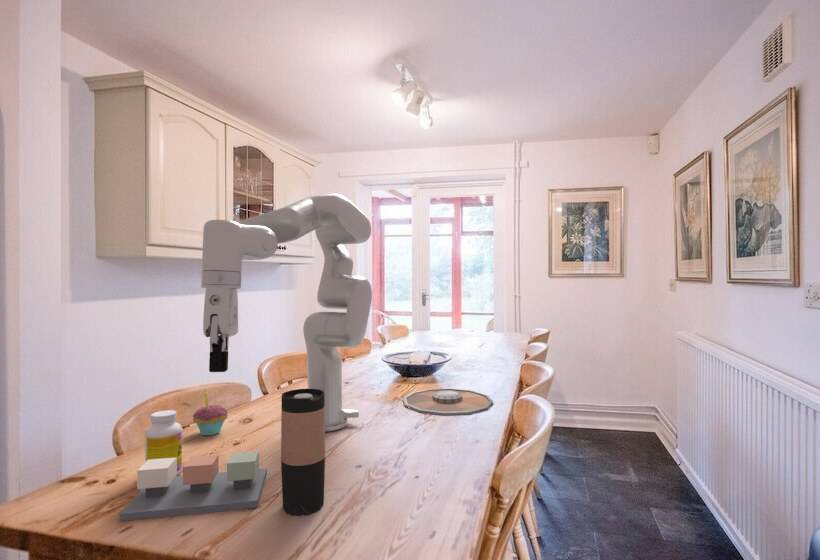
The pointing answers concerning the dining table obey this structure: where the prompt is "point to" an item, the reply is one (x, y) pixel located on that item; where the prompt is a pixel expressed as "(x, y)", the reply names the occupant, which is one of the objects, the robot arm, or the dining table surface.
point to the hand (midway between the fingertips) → (218, 371)
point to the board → (196, 497)
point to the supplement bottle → (164, 438)
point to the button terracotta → (200, 469)
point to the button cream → (156, 473)
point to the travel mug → (303, 451)
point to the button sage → (242, 466)
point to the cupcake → (210, 418)
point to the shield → (447, 401)
